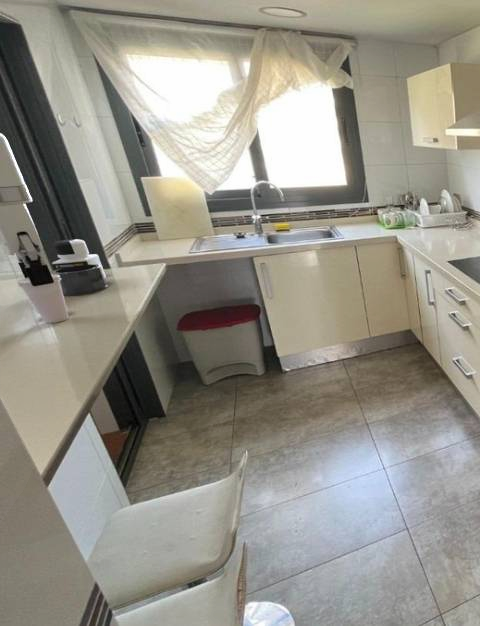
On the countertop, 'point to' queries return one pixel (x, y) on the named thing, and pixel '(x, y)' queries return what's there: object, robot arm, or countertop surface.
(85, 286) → the stand
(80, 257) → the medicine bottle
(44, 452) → the countertop surface
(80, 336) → the countertop surface
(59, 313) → the smoothie
